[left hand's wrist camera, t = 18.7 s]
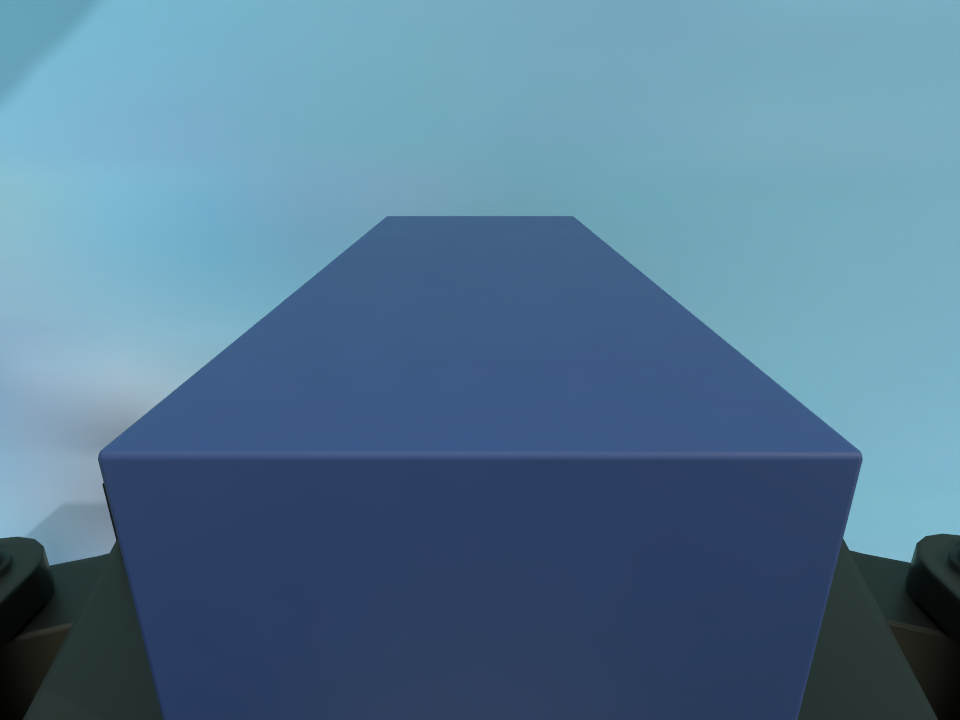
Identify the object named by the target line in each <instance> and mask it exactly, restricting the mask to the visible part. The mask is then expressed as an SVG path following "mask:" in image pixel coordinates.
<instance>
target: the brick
mask: <svg viewBox="0 0 960 720" xmlns="http://www.w3.org/2000/svg"><path fill="white" fill-rule="evenodd" d="M98 461H99V465H100V469H101V473H102V477H103V481H104V485H105V489H106V493H107V497H108V501H109V505H110V509H111V513H112V517H113V521H114V525H115V529H116V533H117V537H118V541H119V545H120V549H121V553H122V557H123V561H124V565H125V569H126V574H127V578H128V582H129V586H130V590H131V594H132V598H133V602H134V606H135V610H136V614H137V618H138V622H139V626H140V630H141V634H142V638H143V642H144V646H145V650H146V654H147V658H148V662H149V666H150V670H151V674H152V678H153V682H154V686H155V690H156V694H157V698H158V702H159V706H160V710H161V714H162V718H163V720H798V716H799V712H800V708H801V704H802V700H803V696H804V692H805V688H806V684H807V680H808V676H809V672H810V668H811V664H812V660H813V656H814V652H815V648H816V644H817V640H818V636H819V632H820V628H821V624H822V620H823V616H824V612H825V608H826V604H827V600H828V596H829V592H830V588H831V584H832V580H833V576H834V572H835V568H836V564H837V560H838V556H839V552H840V548H841V544H842V540H843V536H844V532H845V528H846V524H847V520H848V516H849V512H850V508H851V504H852V500H853V496H854V492H855V488H856V484H857V480H858V476H859V472H860V468H861V464H862V454H861V452H860V451H859V450H858V449H857V448H855V447H854V446H853V445H852V444H851V443H849V442H848V441H847V440H846V439H844V438H843V437H842V436H841V435H840V434H838V433H837V432H836V431H835V430H833V429H832V428H831V427H830V426H829V425H827V424H826V423H825V422H824V421H822V420H821V419H820V418H819V417H818V416H816V415H815V414H814V413H813V412H811V411H810V410H809V409H808V408H807V407H805V406H804V405H803V404H802V403H800V402H799V401H798V400H797V399H796V398H794V397H793V396H792V395H791V394H789V393H788V392H787V391H786V390H785V389H783V388H782V387H781V386H780V385H778V384H777V383H776V382H775V381H774V380H772V379H771V378H770V377H769V376H767V375H766V374H765V373H764V372H763V371H761V370H760V369H759V368H758V367H756V366H755V365H754V364H753V363H752V362H750V361H749V360H748V359H747V358H745V357H744V356H743V355H742V354H741V353H739V352H738V351H737V350H736V349H734V348H733V347H732V346H731V345H730V344H728V343H727V342H726V341H725V340H723V339H722V338H721V337H720V336H719V335H717V334H716V333H715V332H714V331H712V330H711V329H710V328H709V327H708V326H706V325H705V324H704V323H703V322H701V321H700V320H699V319H698V318H697V317H695V316H694V315H693V314H692V313H690V312H689V311H688V310H687V309H686V308H684V307H683V306H682V305H681V304H679V303H678V302H677V301H676V300H675V299H673V298H672V297H671V296H670V295H668V294H667V293H666V292H665V291H664V290H662V289H661V288H660V287H659V286H657V285H656V284H655V283H654V282H653V281H651V280H650V279H649V278H648V277H646V276H645V275H644V274H643V273H642V272H640V271H639V270H638V269H637V268H635V267H634V266H633V265H632V264H631V263H629V262H628V261H627V260H626V259H624V258H623V257H622V256H621V255H620V254H618V253H617V252H616V251H615V250H613V249H612V248H611V247H610V246H609V245H607V244H606V243H605V242H604V241H602V240H601V239H600V238H599V237H598V236H596V235H595V234H594V233H593V232H591V231H590V230H589V229H588V228H587V227H585V226H584V225H583V224H582V223H580V222H579V221H578V220H577V219H576V218H574V217H573V216H388V217H386V218H385V219H383V220H382V221H381V222H380V223H379V224H377V225H376V226H375V227H374V228H372V229H371V230H370V231H369V232H368V233H366V234H365V235H364V236H363V237H361V238H360V239H359V240H358V241H357V242H355V243H354V244H353V245H352V246H350V247H349V248H348V249H347V250H346V251H344V252H343V253H342V254H341V255H339V256H338V257H337V258H336V259H335V260H333V261H332V262H331V263H330V264H328V265H327V266H326V267H325V268H324V269H322V270H321V271H320V272H319V273H317V274H316V275H315V276H314V277H313V278H311V279H310V280H309V281H308V282H306V283H305V284H304V285H303V286H302V287H300V288H299V289H298V290H297V291H295V292H294V293H293V294H292V295H291V296H289V297H288V298H287V299H286V300H284V301H283V302H282V303H281V304H280V305H278V306H277V307H276V308H275V309H273V310H272V311H271V312H270V313H269V314H267V315H266V316H265V317H264V318H263V319H261V320H260V321H259V322H258V323H256V324H255V325H254V326H253V327H252V328H250V329H249V330H248V331H247V332H245V333H244V334H243V335H242V336H241V337H239V338H238V339H237V340H236V341H234V342H233V343H232V344H231V345H230V346H228V347H227V348H226V349H225V350H223V351H222V352H221V353H220V354H219V355H217V356H216V357H215V358H214V359H212V360H211V361H210V362H209V363H208V364H206V365H205V366H204V367H203V368H201V369H200V370H199V371H198V372H197V373H195V374H194V375H193V376H192V377H190V378H189V379H188V380H187V381H186V382H184V383H183V384H182V385H181V386H179V387H178V388H177V389H176V390H175V391H173V392H172V393H171V394H170V395H168V396H167V397H166V398H165V399H164V400H162V401H161V402H160V403H159V404H157V405H156V406H155V407H154V408H153V409H151V410H150V411H149V412H148V413H146V414H145V415H144V416H143V417H142V418H140V419H139V420H138V421H137V422H135V423H134V424H133V425H132V426H131V427H129V428H128V429H127V430H126V431H124V432H123V433H122V434H121V435H120V436H118V437H117V438H116V439H115V440H113V441H112V442H111V443H110V444H109V445H107V446H106V447H105V448H104V449H102V450H101V451H100V453H99V457H98Z"/></svg>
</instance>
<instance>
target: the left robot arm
mask: <svg viewBox="0 0 960 720" xmlns="http://www.w3.org/2000/svg"><path fill="white" fill-rule="evenodd" d="M103 488H104V492H105V496H106V500H107V504H108V508H109V512H110V516H111V520H112V524H113V528H114V532H115V536H116V542H115V544H114V546H113V548H112V550H111V552H110V553H109V554H105V555H101V556H97V557H92V558H87V559H82V560H76V561H71V562H66V563H61V564H56V565H51V566H49V563H48V560H47V556H46V553H45V550H44V546H42V545H41V544H40V543H39V542H37V541H36V540H35V539H30V538H23V537H10V538H1V539H0V720H163V718H162V714H161V710H160V706H159V702H158V698H157V694H156V690H155V686H154V682H153V678H152V674H151V670H150V666H149V662H148V658H147V654H146V650H145V646H144V642H143V638H142V634H141V630H140V626H139V622H138V618H137V614H136V610H135V606H134V602H133V598H132V594H131V590H130V586H129V582H128V578H127V574H126V569H125V565H124V561H123V557H122V553H121V549H120V545H119V541H118V537H117V533H116V529H115V525H114V521H113V517H112V513H111V509H110V505H109V501H108V497H107V493H106V489H105V485H104V483H103ZM798 720H960V536H959V535H950V534H938V535H931V536H926V537H924V538H923V539H922V540H920V541H919V542H918V543H917V544H916V548H915V551H914V554H913V558H912V561H911V563H908V562H903V561H898V560H893V559H888V558H882V557H877V556H872V555H867V554H862V553H858V552H854V551H850V550H849V549H848V547H847V545H846V543H845V541H844V539H843V540H842V544H841V548H840V552H839V556H838V560H837V564H836V568H835V572H834V576H833V580H832V584H831V588H830V592H829V596H828V600H827V604H826V608H825V612H824V616H823V620H822V624H821V628H820V632H819V636H818V640H817V644H816V648H815V652H814V656H813V660H812V664H811V668H810V672H809V676H808V680H807V684H806V688H805V692H804V696H803V700H802V704H801V708H800V712H799V716H798Z"/></svg>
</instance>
